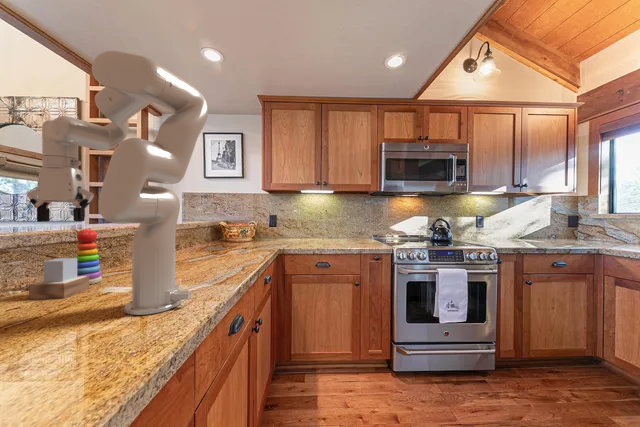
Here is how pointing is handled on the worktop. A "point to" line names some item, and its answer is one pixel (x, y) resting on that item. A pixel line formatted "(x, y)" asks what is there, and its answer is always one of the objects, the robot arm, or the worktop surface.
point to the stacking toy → (88, 256)
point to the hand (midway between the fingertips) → (61, 221)
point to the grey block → (60, 269)
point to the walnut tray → (58, 288)
